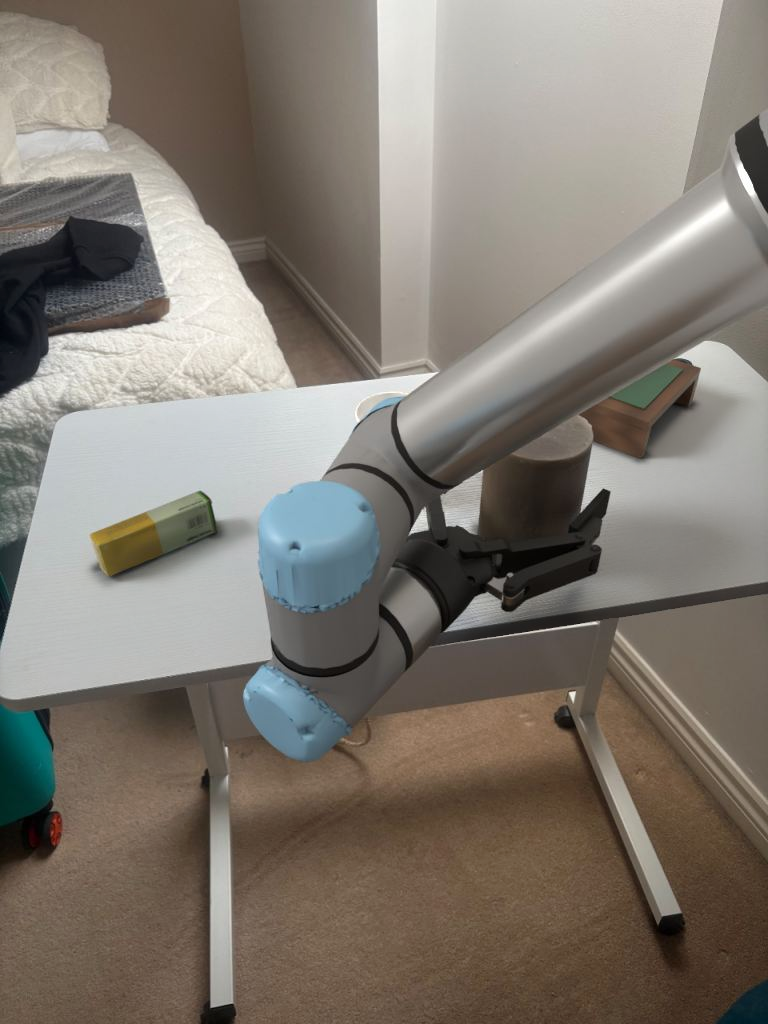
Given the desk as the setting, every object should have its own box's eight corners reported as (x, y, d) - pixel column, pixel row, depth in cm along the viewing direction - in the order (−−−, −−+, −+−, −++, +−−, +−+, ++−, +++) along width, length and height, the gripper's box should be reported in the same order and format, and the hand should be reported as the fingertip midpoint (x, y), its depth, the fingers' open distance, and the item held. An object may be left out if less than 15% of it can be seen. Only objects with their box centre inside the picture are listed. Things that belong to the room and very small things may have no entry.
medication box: (208, 520, 87) (201, 488, 85) (220, 531, 85) (213, 499, 83) (97, 565, 81) (87, 532, 79) (107, 579, 79) (97, 545, 77)
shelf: (692, 403, 104) (705, 353, 99) (640, 458, 95) (652, 406, 90) (590, 369, 110) (598, 320, 106) (533, 418, 101) (539, 367, 97)
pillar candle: (510, 588, 79) (525, 460, 69) (459, 528, 85) (467, 404, 76) (594, 558, 82) (620, 431, 72) (539, 502, 89) (556, 380, 79)
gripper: (296, 570, 75) (431, 460, 88) (539, 707, 63) (655, 556, 76) (289, 506, 70) (433, 399, 83) (550, 641, 58) (672, 492, 71)
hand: (539, 474), depth 79 cm, fingers open, 13 cm apart
